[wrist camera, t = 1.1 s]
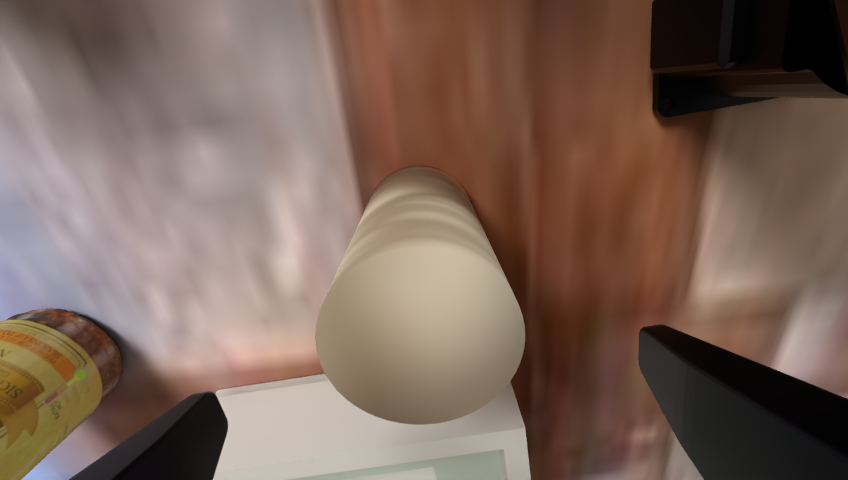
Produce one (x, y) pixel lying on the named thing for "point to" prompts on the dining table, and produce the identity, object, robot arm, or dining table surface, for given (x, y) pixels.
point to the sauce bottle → (49, 383)
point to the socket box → (362, 438)
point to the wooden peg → (420, 306)
